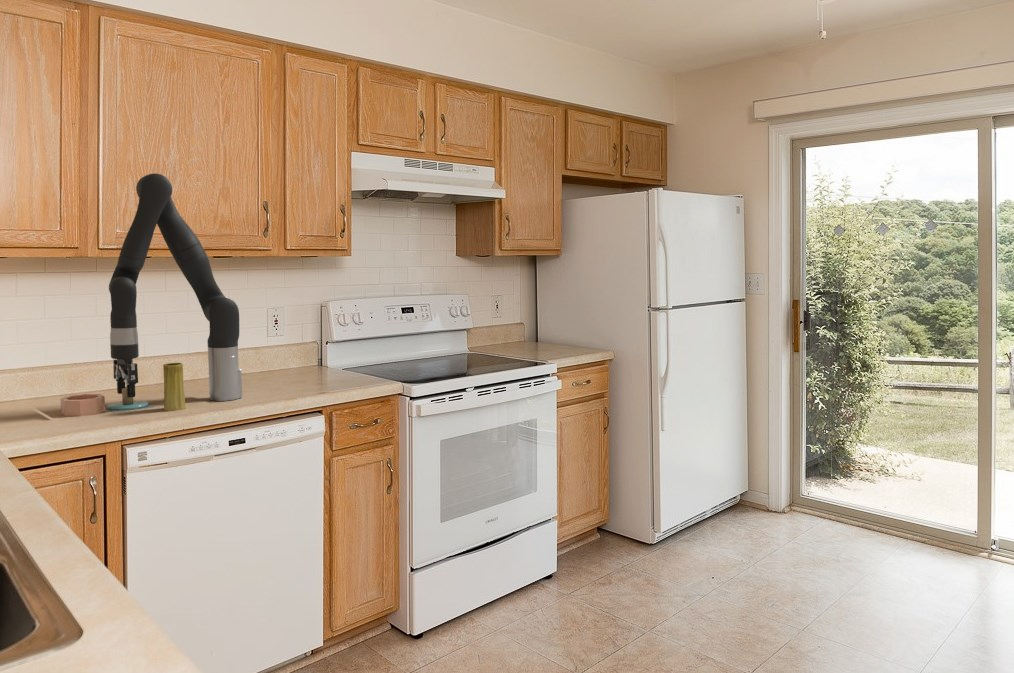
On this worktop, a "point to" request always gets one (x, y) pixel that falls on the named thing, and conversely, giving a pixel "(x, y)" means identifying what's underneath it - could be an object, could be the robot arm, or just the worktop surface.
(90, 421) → the worktop surface
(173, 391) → the vase
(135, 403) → the lid
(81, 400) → the bowl
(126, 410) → the mat
